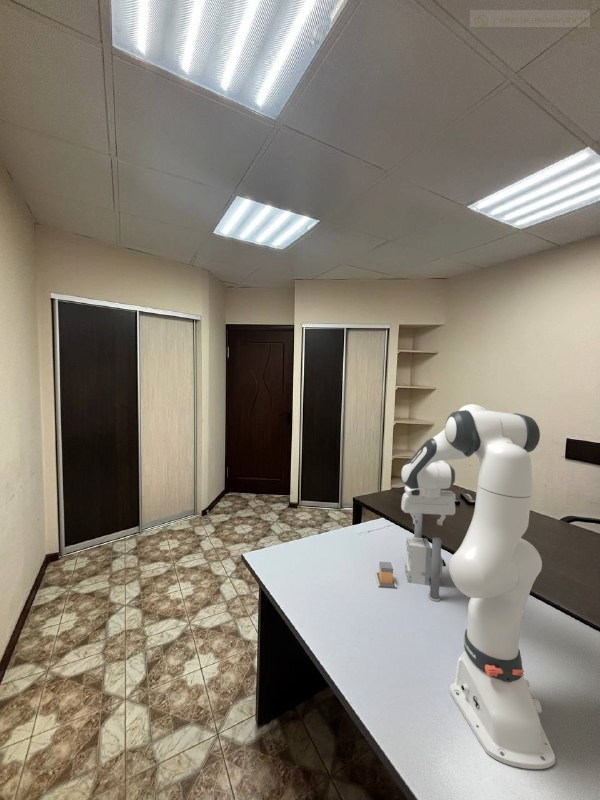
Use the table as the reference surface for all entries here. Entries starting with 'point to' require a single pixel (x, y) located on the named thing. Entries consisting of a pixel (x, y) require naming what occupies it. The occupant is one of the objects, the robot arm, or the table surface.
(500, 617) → the robot arm
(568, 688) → the table surface
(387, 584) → the mat
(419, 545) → the circuit breaker
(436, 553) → the cord posts
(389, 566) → the orange and grey block
